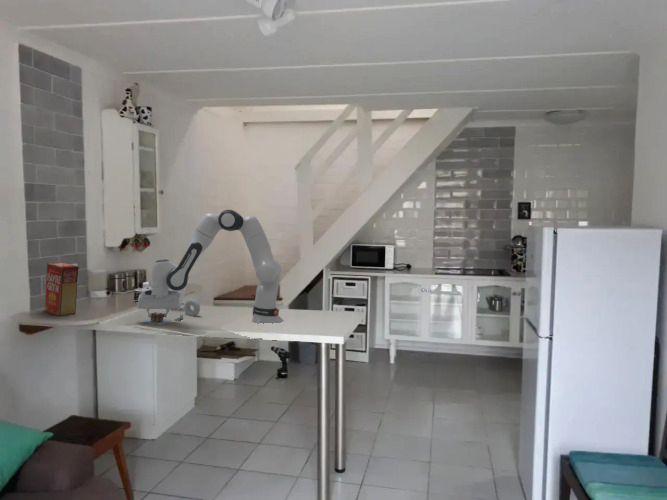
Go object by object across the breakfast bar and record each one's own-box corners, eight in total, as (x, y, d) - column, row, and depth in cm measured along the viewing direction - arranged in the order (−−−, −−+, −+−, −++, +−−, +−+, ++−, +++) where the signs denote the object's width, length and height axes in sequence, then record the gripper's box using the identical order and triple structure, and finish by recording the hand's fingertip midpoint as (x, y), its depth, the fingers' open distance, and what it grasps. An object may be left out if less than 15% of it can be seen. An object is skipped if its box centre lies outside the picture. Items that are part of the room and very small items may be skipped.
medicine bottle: (133, 301, 294) (135, 281, 293) (141, 299, 301) (142, 280, 300) (143, 303, 292) (145, 283, 291) (151, 301, 299) (152, 282, 298)
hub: (170, 322, 260) (171, 312, 259) (161, 326, 250) (162, 316, 249) (152, 319, 261) (153, 309, 260) (143, 323, 251) (143, 313, 250)
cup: (171, 312, 279) (173, 284, 278) (159, 307, 286) (161, 280, 285) (188, 310, 289) (191, 283, 287) (176, 305, 296) (179, 279, 294)
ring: (162, 318, 258) (163, 312, 258) (163, 321, 253) (164, 315, 253) (150, 317, 256) (151, 312, 256) (151, 321, 250) (151, 315, 250)
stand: (188, 321, 266) (189, 313, 265) (183, 323, 260) (184, 316, 259) (178, 319, 266) (178, 312, 266) (173, 322, 260) (173, 314, 260)
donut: (181, 315, 276) (183, 297, 275) (185, 314, 279) (187, 297, 278) (196, 318, 272) (198, 301, 272) (200, 317, 276) (202, 300, 275)
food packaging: (43, 310, 252) (46, 262, 250) (60, 308, 260) (63, 261, 258) (59, 316, 246) (62, 267, 244) (76, 313, 254) (80, 266, 252)
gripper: (179, 289, 260) (176, 315, 262) (137, 289, 251) (135, 315, 252) (181, 292, 255) (179, 318, 256) (139, 291, 245) (137, 318, 246)
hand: (157, 317), depth 254 cm, fingers closed on ring, 6 cm apart
